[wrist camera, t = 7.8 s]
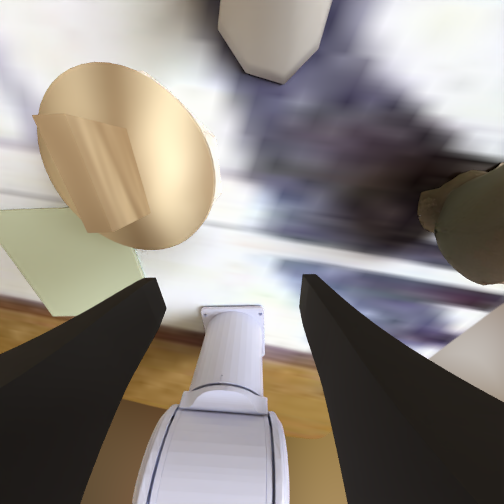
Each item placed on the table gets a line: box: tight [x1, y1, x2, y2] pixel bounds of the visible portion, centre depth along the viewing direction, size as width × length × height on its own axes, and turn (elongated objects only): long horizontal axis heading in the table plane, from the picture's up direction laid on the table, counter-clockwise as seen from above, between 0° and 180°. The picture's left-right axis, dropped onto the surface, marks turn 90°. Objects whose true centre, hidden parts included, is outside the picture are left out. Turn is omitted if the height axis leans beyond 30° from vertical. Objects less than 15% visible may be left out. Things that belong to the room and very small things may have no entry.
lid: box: [32, 62, 216, 250], centre depth 11 cm, size 11×11×5 cm
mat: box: [0, 207, 145, 316], centre depth 21 cm, size 14×14×1 cm
